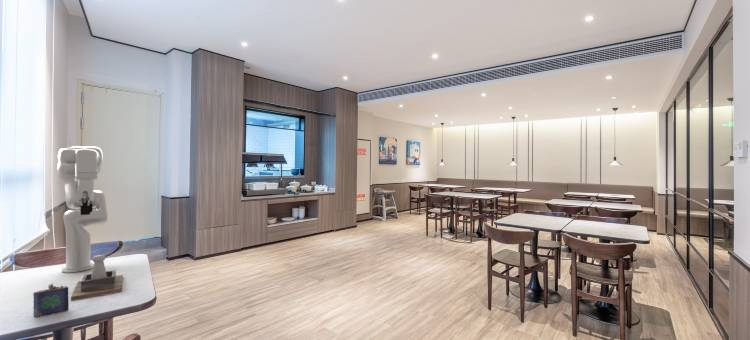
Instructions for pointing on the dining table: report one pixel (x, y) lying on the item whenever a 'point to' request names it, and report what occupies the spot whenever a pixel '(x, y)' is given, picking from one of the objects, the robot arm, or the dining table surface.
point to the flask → (50, 301)
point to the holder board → (97, 286)
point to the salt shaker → (98, 267)
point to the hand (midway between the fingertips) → (86, 213)
